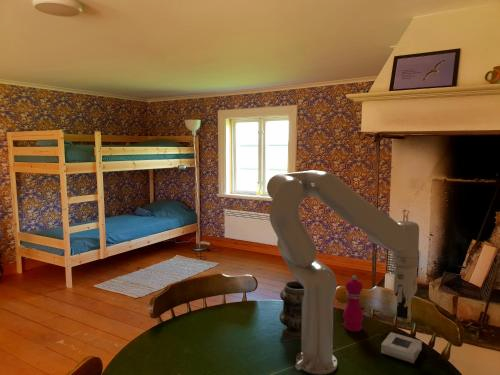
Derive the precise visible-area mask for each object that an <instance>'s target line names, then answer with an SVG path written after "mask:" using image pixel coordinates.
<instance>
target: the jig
mask: <svg viewBox="0 0 500 375" xmlns="http://www.w3.org/2000/svg"><path fill="white" fill-rule="evenodd" d="M422 344H423V341H422V340H419V339H416V338H413V337H410V336H407V335H402V334H399V333H395V332H392V331H391V332H390V333H389V334H388V335H387V336H386V337H385V339H384V340H383V341H382V342H381V344H380V346H381V347H380V353H381V354H383V355H387V356H390V357H393V358H396V359H399V360H401V361H405V362H408V363H411V364H415V362H416V360H417V358H418V356H419V355H420V352H422V346H423V345H422Z"/></svg>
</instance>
